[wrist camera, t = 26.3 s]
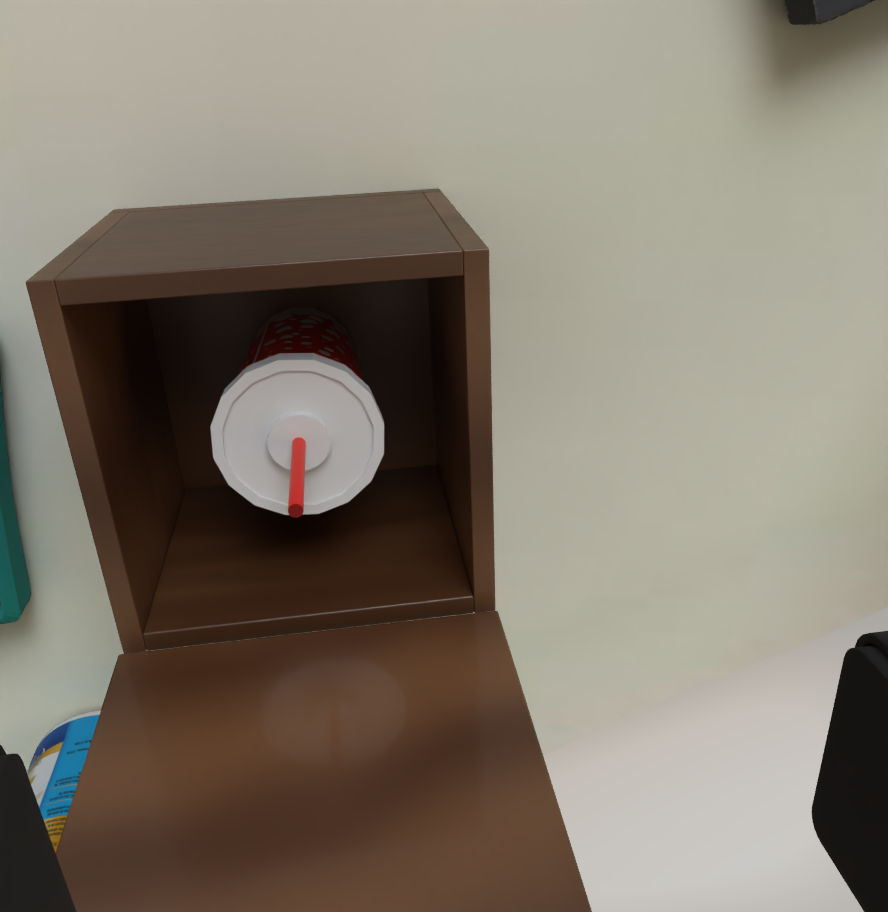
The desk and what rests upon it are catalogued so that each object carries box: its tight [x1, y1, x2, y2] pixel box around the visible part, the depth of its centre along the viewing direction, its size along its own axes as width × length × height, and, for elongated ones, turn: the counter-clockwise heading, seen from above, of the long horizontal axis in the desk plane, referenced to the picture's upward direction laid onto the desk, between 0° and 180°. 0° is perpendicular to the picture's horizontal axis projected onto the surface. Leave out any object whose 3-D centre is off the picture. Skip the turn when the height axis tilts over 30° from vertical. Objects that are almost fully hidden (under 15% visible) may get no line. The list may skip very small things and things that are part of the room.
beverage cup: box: [210, 308, 384, 518], centre depth 32 cm, size 6×6×14 cm
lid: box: [56, 611, 592, 912], centre depth 25 cm, size 14×14×5 cm
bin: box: [26, 189, 495, 654], centre depth 33 cm, size 14×14×12 cm
